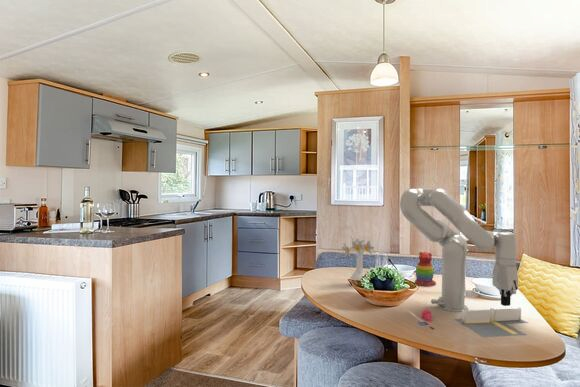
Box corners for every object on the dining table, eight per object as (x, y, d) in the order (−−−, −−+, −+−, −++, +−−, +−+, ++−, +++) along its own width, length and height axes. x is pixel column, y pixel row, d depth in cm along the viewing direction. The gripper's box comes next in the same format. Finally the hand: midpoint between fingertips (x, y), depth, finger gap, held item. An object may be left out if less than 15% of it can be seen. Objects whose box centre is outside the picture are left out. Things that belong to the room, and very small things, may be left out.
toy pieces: (409, 320, 154) (409, 310, 154) (430, 317, 159) (431, 307, 158) (431, 331, 143) (431, 320, 143) (453, 328, 148) (453, 316, 147)
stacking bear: (436, 283, 212) (437, 252, 212) (432, 287, 204) (433, 254, 203) (416, 280, 218) (417, 249, 217) (412, 284, 210) (413, 252, 209)
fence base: (482, 338, 137) (483, 323, 137) (454, 320, 155) (454, 306, 155) (551, 335, 142) (551, 320, 141) (515, 318, 159) (516, 304, 159)
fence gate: (495, 321, 153) (496, 309, 153) (493, 319, 154) (493, 308, 154) (521, 320, 154) (522, 308, 154) (519, 318, 156) (519, 307, 156)
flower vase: (337, 284, 205) (338, 238, 204) (362, 280, 216) (363, 236, 215) (354, 290, 194) (356, 242, 194) (379, 285, 205) (380, 239, 204)
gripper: (485, 258, 167) (485, 300, 167) (510, 265, 152) (510, 311, 152) (501, 258, 168) (501, 299, 168) (527, 264, 153) (527, 310, 153)
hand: (505, 305), depth 160 cm, fingers closed
